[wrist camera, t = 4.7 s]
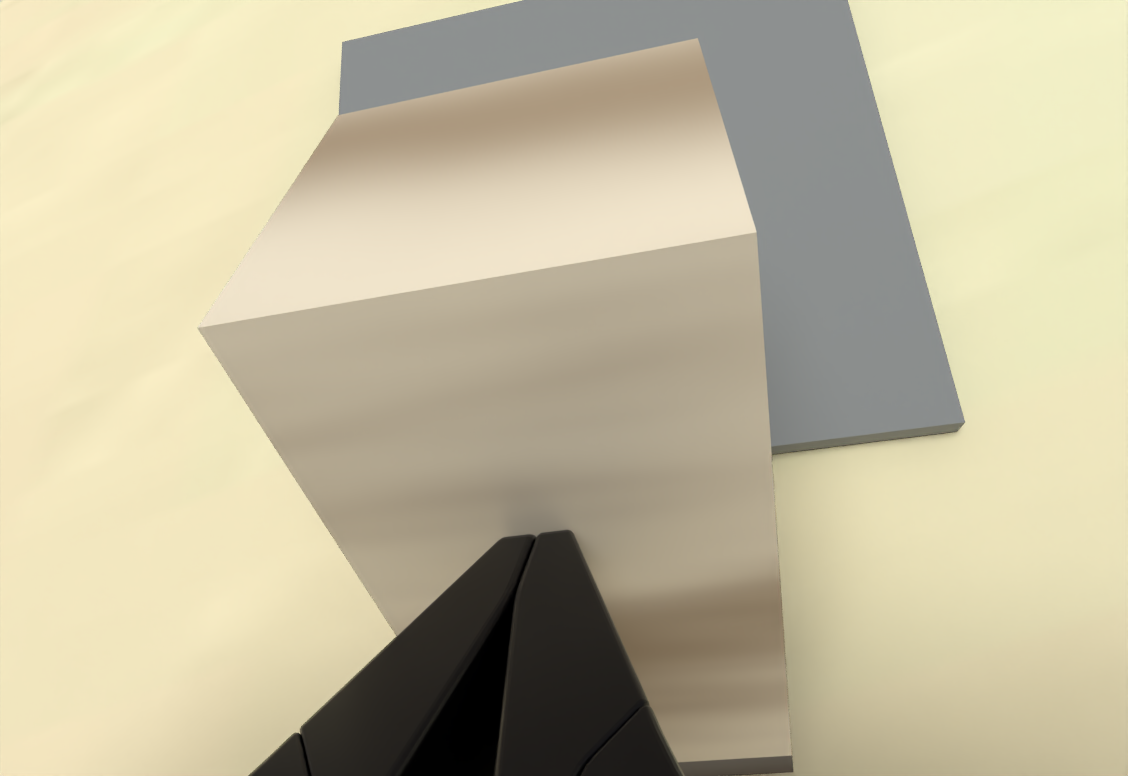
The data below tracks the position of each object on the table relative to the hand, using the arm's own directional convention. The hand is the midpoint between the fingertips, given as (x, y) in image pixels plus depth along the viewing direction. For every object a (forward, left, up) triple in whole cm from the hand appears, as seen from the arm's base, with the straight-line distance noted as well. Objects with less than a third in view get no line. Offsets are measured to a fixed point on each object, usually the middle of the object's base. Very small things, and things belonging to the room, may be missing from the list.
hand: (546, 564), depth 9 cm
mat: (+10, 0, -8) cm, 13 cm away
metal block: (-1, 0, -7) cm, 7 cm away
